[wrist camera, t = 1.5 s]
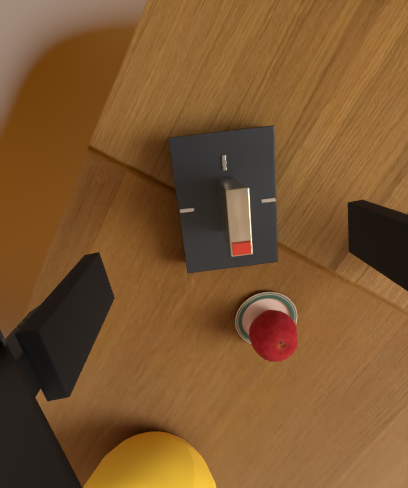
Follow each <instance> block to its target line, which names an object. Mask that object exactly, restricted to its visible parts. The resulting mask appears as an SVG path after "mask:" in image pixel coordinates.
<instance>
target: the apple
mask: <svg viewBox="0 0 408 488" xmlns="http://www.w3.org/2000/svg"><path fill="white" fill-rule="evenodd" d="M296 322H297V310H296V307H295V305H294V304H293V302H292V301H291V300H290V299H289V298H288V297H286V296H284V295H282V294H280V293H276V292H263V293H259V294H256V295H254V296H252V297H250V298H248V299H247V300H246V301H245V302H244V303H243V304H242V305H241V306H240V308H239V309H238V311H237V314H236V318H235V325H236V329H237V332H238V334H239V335H240V336H241V338H243V339H244V340H245V341H246V342H248V343H250V344H251V345H252V346H253V348H254V350H255V351H256V352H257V353H258V354H259V355H260V356H261V357H262V358H264V359H265V360H268V361H273V362H277V361H282V360H285V359H287V358H288V357H289V356H291V355H292V354H293V353H294V351H295V350H296V349H297V347H298V342H297V331H296V330H297V329H296V326H295V325H296Z"/></svg>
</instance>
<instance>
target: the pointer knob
mask: <svg viewBox="0 0 408 488" xmlns="http://www.w3.org/2000/svg"><path fill="white" fill-rule="evenodd" d="M217 191H218V201H219V212H220V222H221V232H222V234H223V237H224V239H225V242H226V244H227V247H228V249H229V252H230V254H231V257H234V256H242V255H250V254H253V249H252V231H251V214H250V197H249V188H248V187H247V186H246V185H244V184H243V183H242V182H240V181H239V180H238V179H236V178H235V177H228V178H220V179H217Z"/></svg>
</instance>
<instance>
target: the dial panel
mask: <svg viewBox="0 0 408 488" xmlns="http://www.w3.org/2000/svg"><path fill="white" fill-rule="evenodd" d="M168 140H169V147H170V154H171V161H172V168H173V175H174V182H175V189H176V196H177V203H178V210H179V217H180V224H181V231H182V238H183V245H184V252H185V259H186V266H187V273H194V272H202V271H209V270H217V269H225V268H233V267H241V266H249V265H257V264H265V263H273V262H278V249H277V212H276V175H275V139H274V126H264V127H256V128H247V129H239V130H230V131H222V132H213V133H205V134H196V135H188V136H179V137H170V138H168ZM228 177H235V178H236V179H238V180H239V181H240V182H242V183H243V184H244V185H246V186H247V187H248V188H249V197H250V214H251V231H252V249H253V254H250V255H242V256H234V257H231V254H230V252H229V249H228V247H227V244H226V242H225V239H224V237H223V234H222V232H221V222H220V212H219V201H218V191H217V179H220V178H228Z"/></svg>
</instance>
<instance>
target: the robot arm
mask: <svg viewBox="0 0 408 488" xmlns="http://www.w3.org/2000/svg"><path fill="white" fill-rule="evenodd" d="M348 233H349V252H350V253H352V254H353V255H355V256H356V257H358V258H359V259H361V260H362V261H364V262H365V263H367V264H368V265H370V266H371V267H373V268H374V269H376V270H377V271H379V272H380V273H382V274H383V275H385V276H386V277H387V278H389V279H390V280H392V281H393V282H395V283H396V284H398V285H399V286H401V287H402V288H404V289H405V290H407V291H408V215H407V214H404V213H401V212H398V211H395V210H392V209H389V208H386V207H383V206H380V205H377V204H374V203H371V202H368V201H365V200H359V201H354V202H349V203H348ZM113 300H114V295H113V292H112V289H111V286H110V283H109V280H108V277H107V274H106V271H105V268H104V265H103V262H102V259H101V256H100V253H99V252H98V253H93V254H88V255H84V257H83V258H82V259H81V260H80V261H79V262H78V263H77V265H76V266H75V267H74V268H73V269H72V270H71V271H70V272H69V274H68V275H67V276H66V277H65V278H64V279H63V280H62V281H61V283H60V284H59V285H58V286H57V287H56V288H55V289H54V290H53V292H52V293H51V294H50V295H49V296H48V297H47V298H46V299H45V301H44V302H43V303H42V304H41V305H40V306H38V307H37V308H35V309H34V310H32V311H31V312H30V313H29V314H28V315H27V316H26V317H25V318H24V319H23V320H22V322H20V323H19V325H18V326H17V328H15V329H14V330H13V331H12V332H11V333H10V334H9V336H8V337H7V338H6V339H4V336H3V335H2V333H1V331H0V488H82V486H81V485H80V483H79V481H78V479H77V477H76V475H75V473H74V471H73V469H72V467H71V465H70V463H69V461H68V460H67V458H66V456H65V454H64V452H63V450H62V448H61V446H60V444H59V442H58V440H57V438H56V437H55V435H54V433H53V431H52V429H51V427H50V425H49V423H48V421H47V419H46V417H45V415H44V413H43V412H42V410H41V408H40V406H39V404H38V402H37V400H36V398H35V397H36V395H37V394H38V392H39V390H40V388H41V389H42V391H43V393H44V395H45V397H46V399H47V401H51V400H57V399H62V398H67V397H70V395H71V393H72V391H73V388H74V386H75V384H76V382H77V380H78V377H79V375H80V373H81V371H82V369H83V366H84V364H85V362H86V360H87V358H88V355H89V353H90V351H91V349H92V347H93V344H94V342H95V340H96V338H97V335H98V333H99V331H100V329H101V327H102V324H103V322H104V320H105V318H106V316H107V313H108V311H109V309H110V307H111V305H112V302H113Z"/></svg>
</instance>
